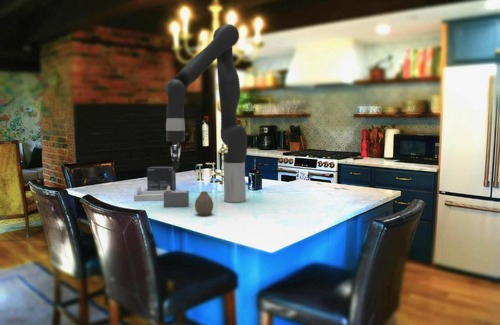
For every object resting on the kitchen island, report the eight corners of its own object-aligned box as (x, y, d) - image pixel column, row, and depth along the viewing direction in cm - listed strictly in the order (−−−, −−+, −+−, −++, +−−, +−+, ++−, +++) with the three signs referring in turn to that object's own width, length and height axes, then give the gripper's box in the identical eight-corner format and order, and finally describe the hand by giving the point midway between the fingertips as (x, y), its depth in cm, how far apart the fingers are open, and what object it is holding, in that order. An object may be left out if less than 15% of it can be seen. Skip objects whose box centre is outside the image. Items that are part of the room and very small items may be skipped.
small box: (176, 189, 206) (175, 166, 204) (172, 192, 199) (172, 168, 198) (151, 189, 207) (150, 166, 206) (146, 191, 200) (146, 167, 199)
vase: (204, 211, 157) (204, 189, 156) (217, 214, 153) (216, 191, 152) (191, 214, 152) (190, 192, 151) (204, 217, 148) (203, 194, 147)
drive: (189, 204, 171) (188, 190, 170) (188, 207, 166) (188, 192, 165) (165, 204, 170) (165, 190, 169) (163, 207, 165) (163, 193, 164)
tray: (172, 195, 190) (172, 185, 189) (171, 200, 179) (170, 189, 178) (137, 196, 187) (137, 185, 187) (134, 201, 177) (133, 190, 176)
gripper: (184, 130, 158) (184, 170, 160) (185, 129, 172) (185, 166, 174) (164, 130, 157) (165, 171, 159) (167, 129, 171) (167, 166, 173)
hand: (176, 168), depth 166 cm, fingers open, 8 cm apart
